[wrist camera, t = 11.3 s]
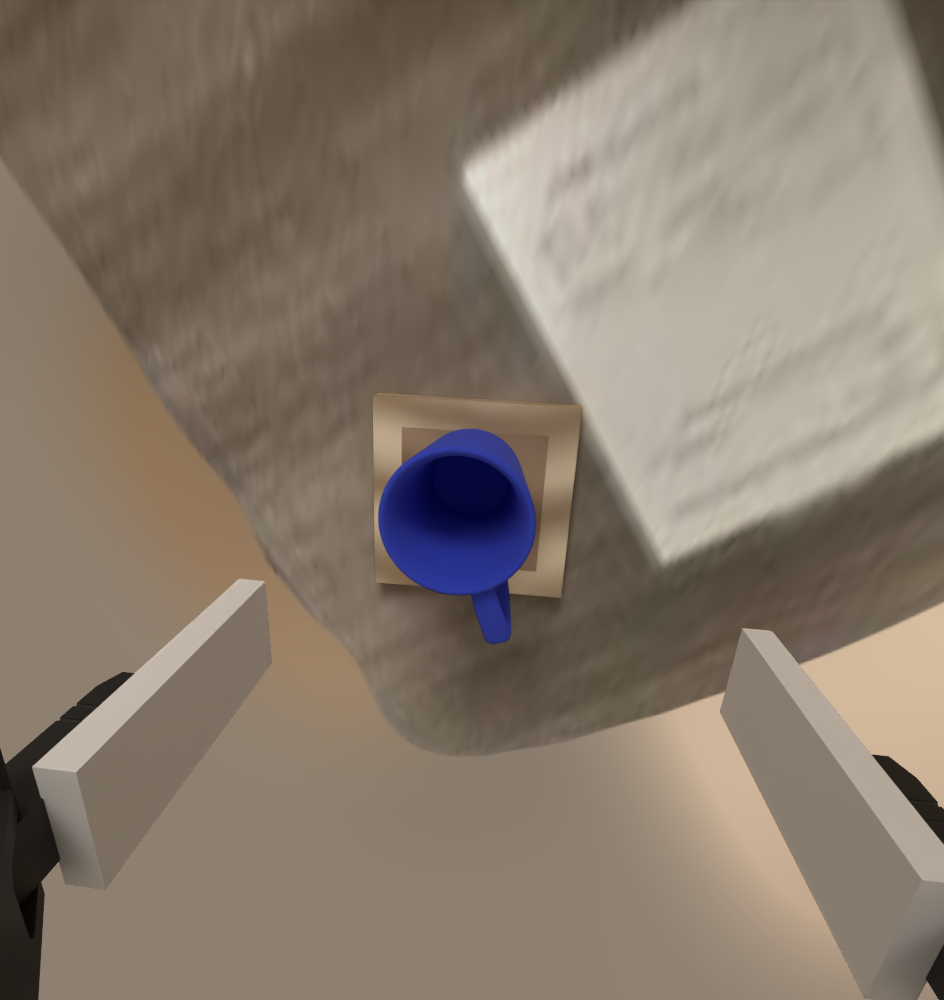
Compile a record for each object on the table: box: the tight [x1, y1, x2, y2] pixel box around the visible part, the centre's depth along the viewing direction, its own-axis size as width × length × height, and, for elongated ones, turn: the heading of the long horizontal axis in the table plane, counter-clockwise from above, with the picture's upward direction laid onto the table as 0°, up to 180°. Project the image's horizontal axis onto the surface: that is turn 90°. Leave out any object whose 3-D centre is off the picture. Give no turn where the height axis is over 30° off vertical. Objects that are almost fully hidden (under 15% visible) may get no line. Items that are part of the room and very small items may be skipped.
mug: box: [378, 429, 536, 644], centre depth 32 cm, size 8×12×10 cm
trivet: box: [373, 393, 582, 598], centre depth 38 cm, size 14×14×2 cm
